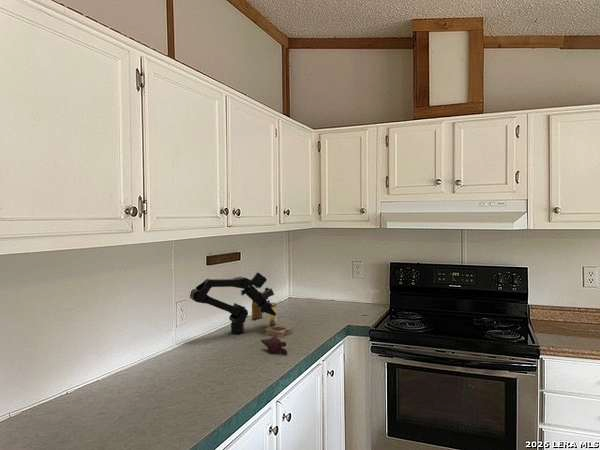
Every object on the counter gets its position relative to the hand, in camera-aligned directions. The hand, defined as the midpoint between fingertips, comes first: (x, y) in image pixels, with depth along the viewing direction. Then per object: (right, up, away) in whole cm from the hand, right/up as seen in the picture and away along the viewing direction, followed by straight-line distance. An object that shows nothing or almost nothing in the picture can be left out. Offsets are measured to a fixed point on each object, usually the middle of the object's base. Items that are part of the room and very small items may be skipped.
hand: (275, 314), depth 228 cm
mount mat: (-1, -8, 0) cm, 8 cm away
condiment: (-12, -8, +24) cm, 28 cm away
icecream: (+1, -9, -37) cm, 38 cm away
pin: (-1, -6, 0) cm, 6 cm away
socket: (+2, -8, -9) cm, 13 cm away
